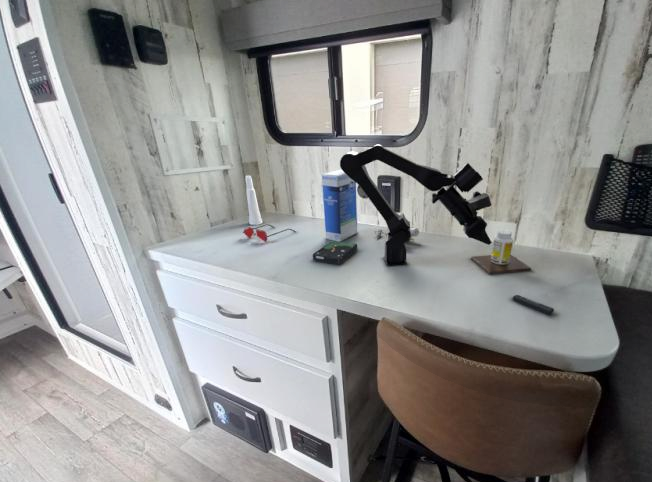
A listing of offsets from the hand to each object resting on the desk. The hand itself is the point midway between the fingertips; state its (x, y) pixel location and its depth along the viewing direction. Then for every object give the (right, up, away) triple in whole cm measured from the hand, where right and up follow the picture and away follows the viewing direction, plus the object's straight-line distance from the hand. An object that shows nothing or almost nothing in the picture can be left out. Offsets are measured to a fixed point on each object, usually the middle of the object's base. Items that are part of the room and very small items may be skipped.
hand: (486, 238), depth 97 cm
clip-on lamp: (-27, +1, +25) cm, 37 cm away
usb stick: (+4, -19, -20) cm, 28 cm away
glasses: (-79, +4, +33) cm, 86 cm away
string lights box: (-48, +4, +31) cm, 58 cm away
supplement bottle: (+5, -8, +3) cm, 10 cm away
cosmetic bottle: (-91, +12, +50) cm, 105 cm away
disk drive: (-49, -5, +12) cm, 50 cm away
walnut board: (+5, -8, +3) cm, 10 cm away
